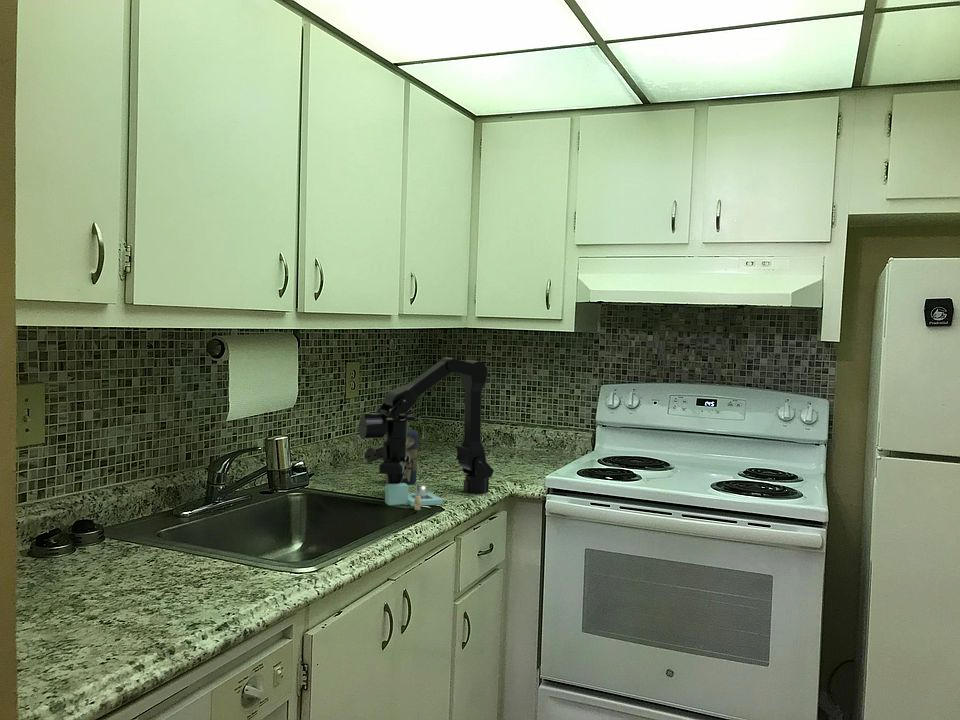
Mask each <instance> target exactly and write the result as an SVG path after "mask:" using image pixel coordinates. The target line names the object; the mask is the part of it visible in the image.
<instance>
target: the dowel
mask: <svg viewBox="0 0 960 720" xmlns="http://www.w3.org/2000/svg"><path fill="white" fill-rule="evenodd" d="M421 507H422V506H421V496H415V506H414V511H421Z"/></svg>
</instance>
